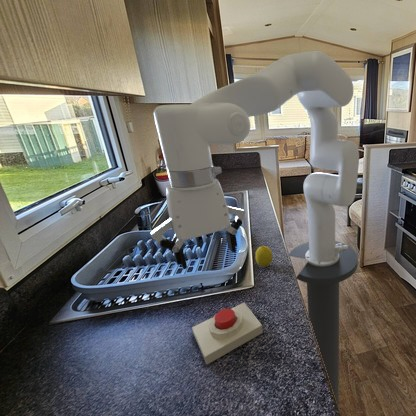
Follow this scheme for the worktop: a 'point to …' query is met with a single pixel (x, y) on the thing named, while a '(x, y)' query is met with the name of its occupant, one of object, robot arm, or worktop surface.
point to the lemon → (263, 256)
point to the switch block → (226, 334)
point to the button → (225, 319)
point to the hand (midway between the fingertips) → (209, 257)
